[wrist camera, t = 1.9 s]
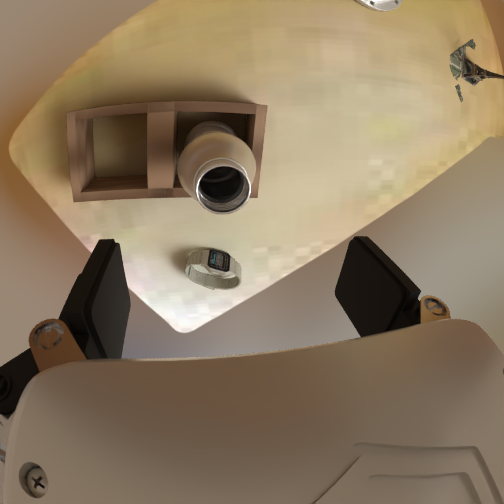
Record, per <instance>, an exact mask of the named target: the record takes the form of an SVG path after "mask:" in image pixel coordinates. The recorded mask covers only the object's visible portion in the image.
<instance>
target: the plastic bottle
mask: <svg viewBox="0 0 504 504" xmlns="http://www.w3.org/2000/svg"><path fill="white" fill-rule="evenodd" d="M255 173H256V162H255V158H254V155H253V153H252V151H251V150H250V148H249V147H248V146H247V145H246V143H244V142H243V141H242V140H240V139H239V138H237V136H236V134H235V132H234V131H233V130H232V129H231V128H230V127H229V126H228V125H226V124H224V123H222V122H218V121H205V122H202V123H200V124H198V125H196V126H195V127H194V128H192V129H191V131H190V132H189V133H188V135H187V137H186V140H185V149H184V150H183V152H182V154H181V156H180V158H179V162H178V177H179V180H180V183H181V185H182V187H183V188H184V190H185V191H186V192H187V193H188V194H189V195H190V196H191V197H192V198H194V199H195V200H197V201H199V203H200V204H201V205H202V206H203V207H204V208H205V209H206V210H208V211H210V212H212V213H215V214H230V213H233V212H235V211H237V210H239V209H240V208H242V207H243V206H244V205H245V204H246V202H247V201H248V199H249V197H250V193H251V185H252V183H253V180H254V177H255Z"/></svg>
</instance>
